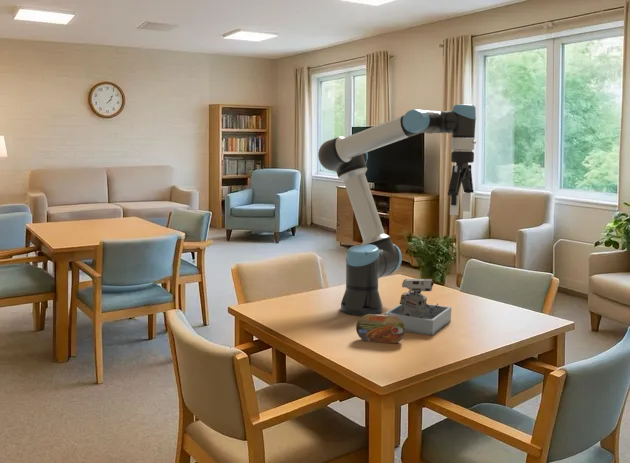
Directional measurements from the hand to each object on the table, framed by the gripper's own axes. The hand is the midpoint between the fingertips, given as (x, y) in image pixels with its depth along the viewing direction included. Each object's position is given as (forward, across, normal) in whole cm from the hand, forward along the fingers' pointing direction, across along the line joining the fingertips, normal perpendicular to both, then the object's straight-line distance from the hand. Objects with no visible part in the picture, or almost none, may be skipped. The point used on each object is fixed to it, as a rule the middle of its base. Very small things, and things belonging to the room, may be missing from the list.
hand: (460, 213), depth 217 cm
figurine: (+36, -16, +8) cm, 40 cm away
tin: (+37, -39, +12) cm, 55 cm away
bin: (+37, -16, +8) cm, 41 cm away
